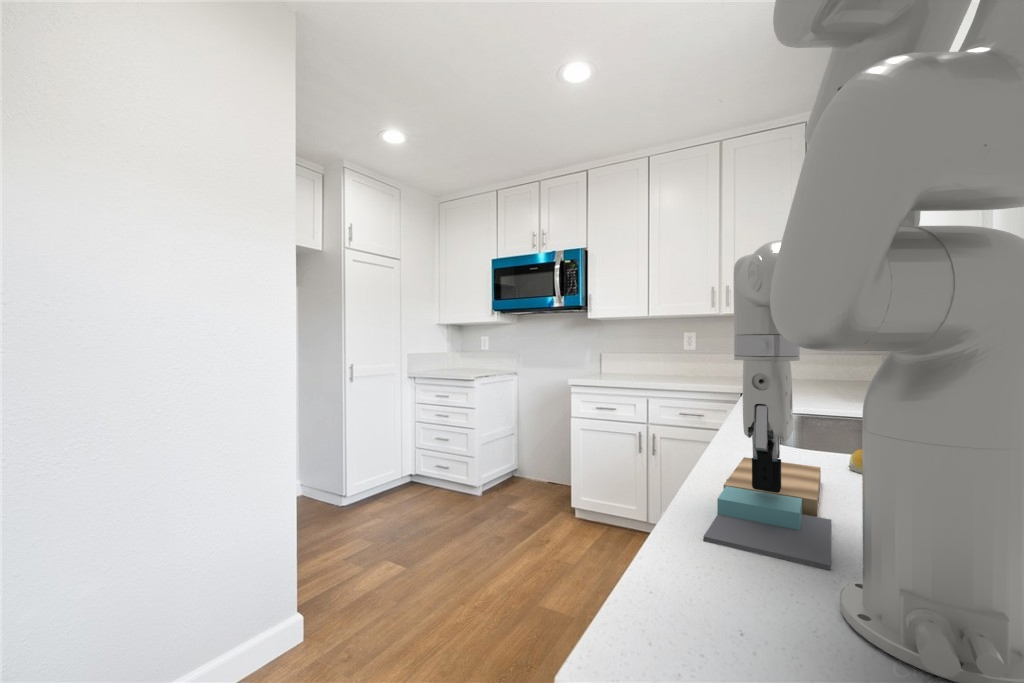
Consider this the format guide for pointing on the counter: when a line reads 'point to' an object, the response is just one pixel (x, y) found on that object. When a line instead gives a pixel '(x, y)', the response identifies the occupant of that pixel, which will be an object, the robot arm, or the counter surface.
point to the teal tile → (760, 507)
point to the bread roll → (856, 461)
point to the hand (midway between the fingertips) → (766, 489)
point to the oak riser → (785, 483)
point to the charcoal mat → (776, 539)
